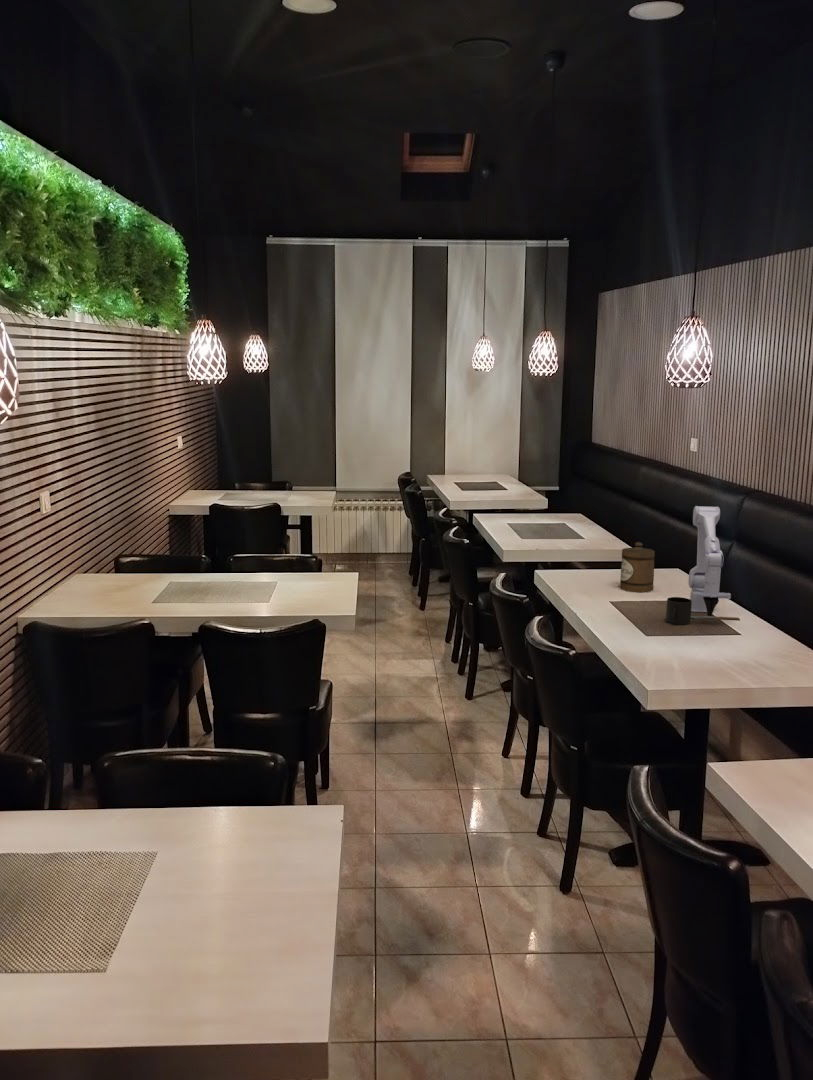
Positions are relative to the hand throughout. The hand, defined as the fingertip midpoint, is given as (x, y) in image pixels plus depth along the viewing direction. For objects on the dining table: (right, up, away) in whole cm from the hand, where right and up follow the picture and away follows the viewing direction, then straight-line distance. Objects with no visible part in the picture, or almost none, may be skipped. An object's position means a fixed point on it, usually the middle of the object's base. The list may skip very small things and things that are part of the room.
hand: (709, 615), depth 344 cm
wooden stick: (0, -2, +7) cm, 7 cm away
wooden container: (-14, +7, +56) cm, 59 cm away
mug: (-13, -3, +1) cm, 13 cm away
